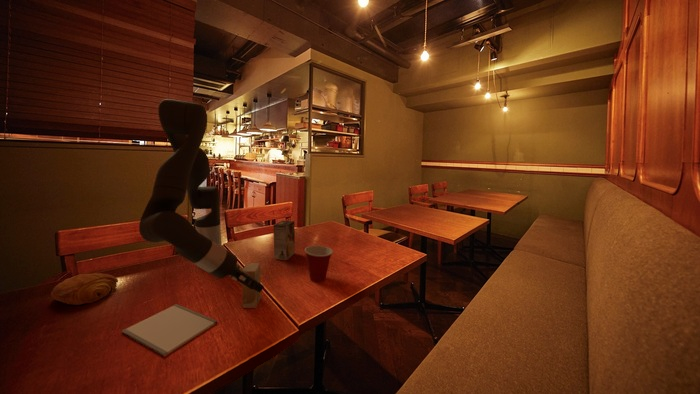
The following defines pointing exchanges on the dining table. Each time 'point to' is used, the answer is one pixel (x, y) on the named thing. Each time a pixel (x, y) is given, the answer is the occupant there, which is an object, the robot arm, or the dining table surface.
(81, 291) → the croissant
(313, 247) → the plastic cup
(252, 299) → the skincare box
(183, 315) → the mat
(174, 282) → the dining table surface
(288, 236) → the coffee box
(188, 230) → the robot arm
